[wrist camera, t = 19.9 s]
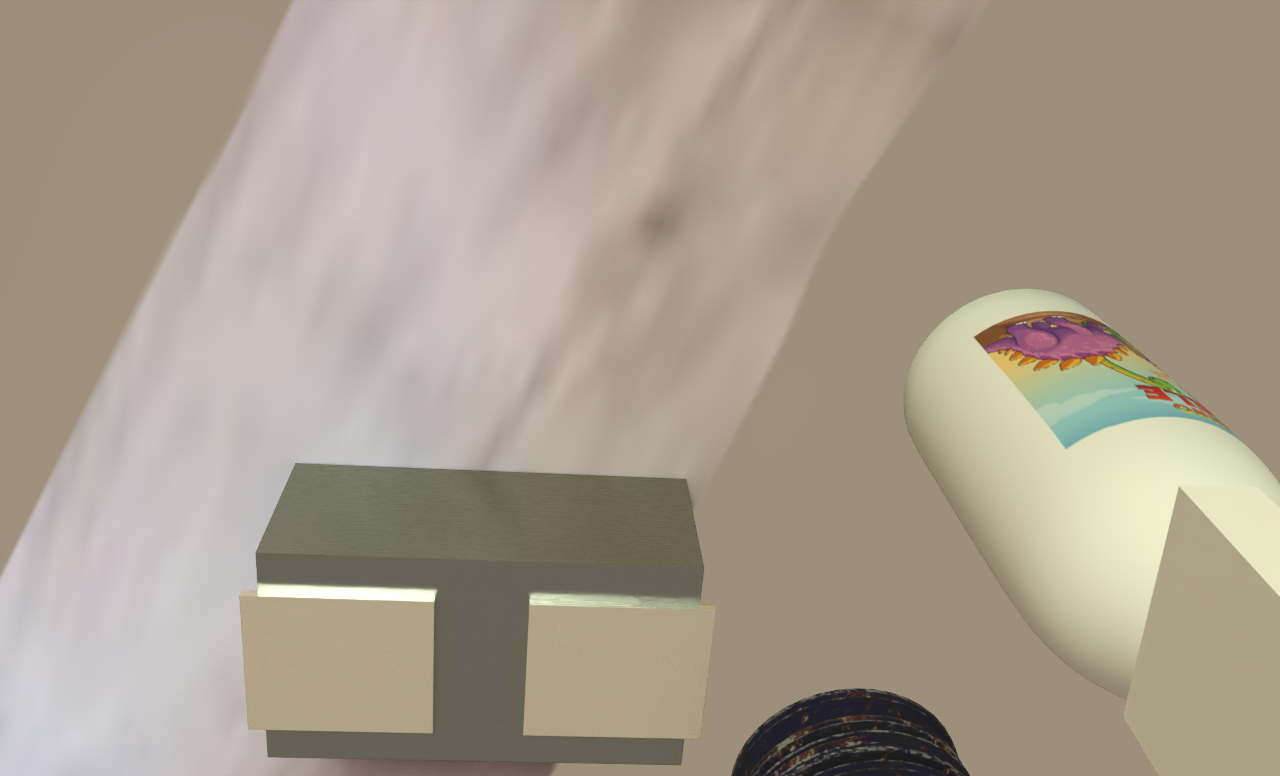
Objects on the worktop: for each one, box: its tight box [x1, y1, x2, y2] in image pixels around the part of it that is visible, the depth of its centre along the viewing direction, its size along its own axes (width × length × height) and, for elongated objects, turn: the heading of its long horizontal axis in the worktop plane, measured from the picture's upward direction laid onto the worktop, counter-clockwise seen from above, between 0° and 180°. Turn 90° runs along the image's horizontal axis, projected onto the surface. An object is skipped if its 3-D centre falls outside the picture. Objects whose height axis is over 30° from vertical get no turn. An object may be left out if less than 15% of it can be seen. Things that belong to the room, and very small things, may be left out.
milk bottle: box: [904, 289, 1280, 699], centre depth 33 cm, size 8×8×20 cm
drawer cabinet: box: [239, 463, 716, 765], centre depth 41 cm, size 15×8×6 cm, turn 86°
